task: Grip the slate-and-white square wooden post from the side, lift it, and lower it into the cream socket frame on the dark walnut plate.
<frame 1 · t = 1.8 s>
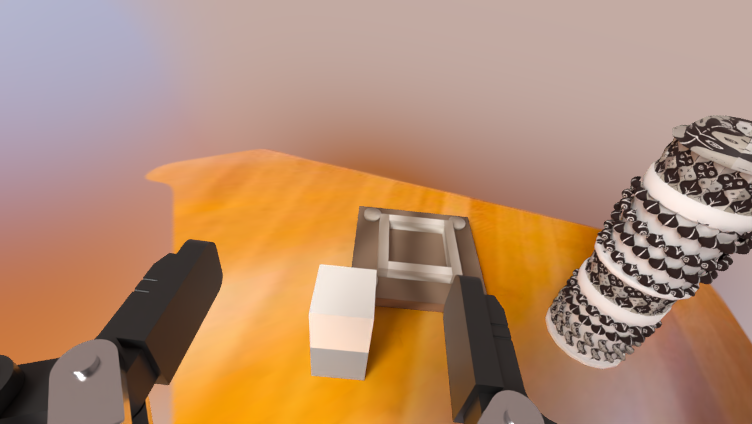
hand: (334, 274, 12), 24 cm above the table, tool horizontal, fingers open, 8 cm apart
post: (341, 353, 35), on the table
socket plate: (414, 258, 46), on the table
decorative candle: (583, 334, 40), on the table
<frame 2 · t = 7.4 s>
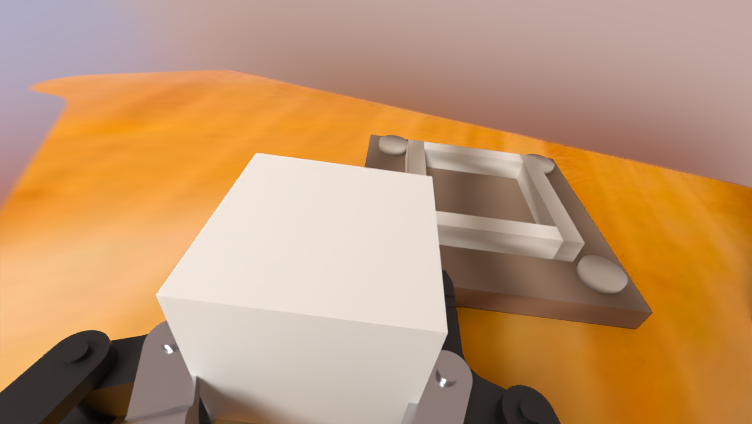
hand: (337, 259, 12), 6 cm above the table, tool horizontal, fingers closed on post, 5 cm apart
post: (321, 410, 14), on the table, touching gripper
socket plate: (469, 217, 25), on the table
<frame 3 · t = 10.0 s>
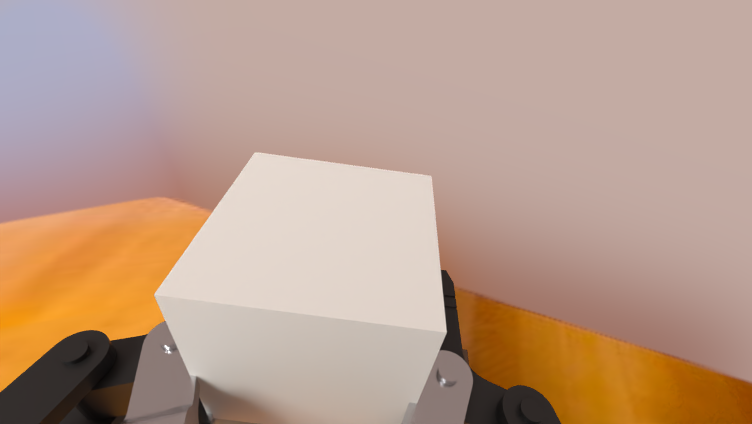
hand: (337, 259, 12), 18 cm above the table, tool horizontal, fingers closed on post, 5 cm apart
post: (321, 409, 14), point 12 cm above the table, touching gripper
when the fingers open (8 cm above the table, at t = 13.0 s): post stays where it is, resting on socket plate.
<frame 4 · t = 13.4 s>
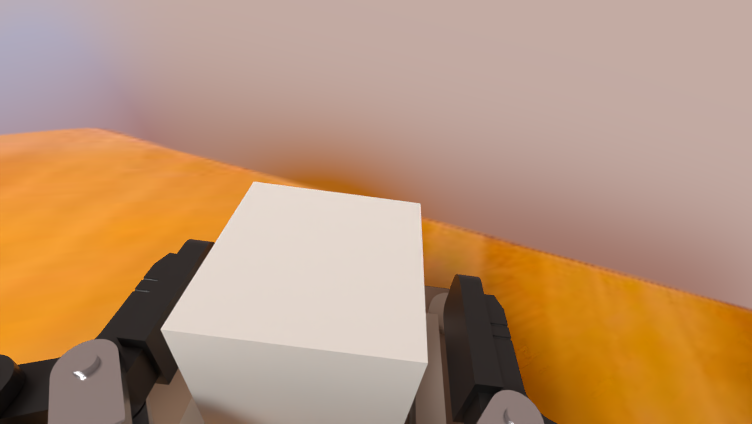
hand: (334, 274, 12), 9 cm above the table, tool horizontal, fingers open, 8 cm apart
post: (318, 420, 15), point 1 cm above the table, touching socket plate
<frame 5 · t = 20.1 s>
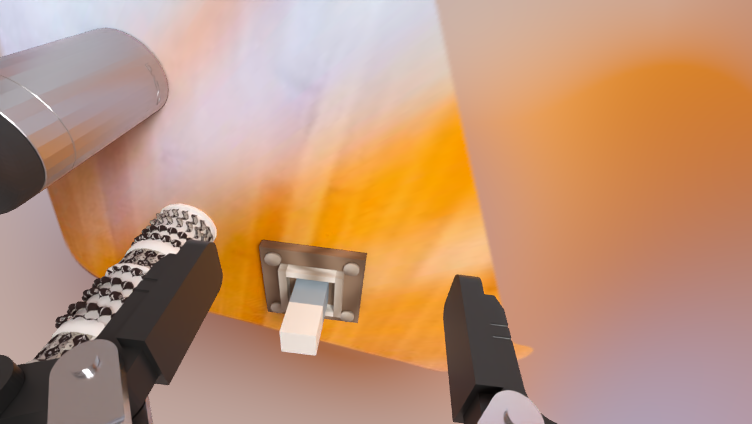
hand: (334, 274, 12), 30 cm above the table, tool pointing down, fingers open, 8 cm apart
post: (313, 288, 57), point 1 cm above the table, touching socket plate
socket plate: (314, 281, 58), on the table
decorative candle: (189, 224, 53), on the table
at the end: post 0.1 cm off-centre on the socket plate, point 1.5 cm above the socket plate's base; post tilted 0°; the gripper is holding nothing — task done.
